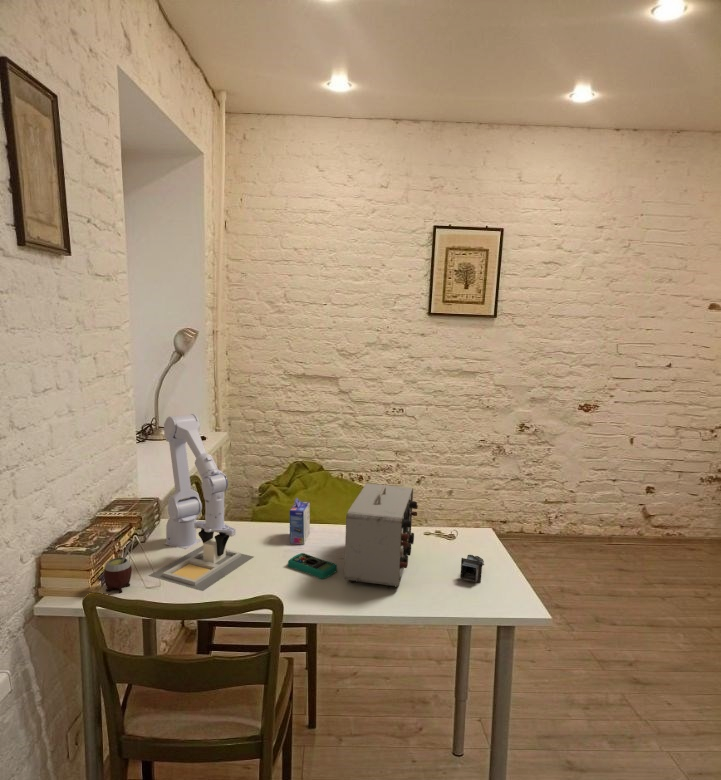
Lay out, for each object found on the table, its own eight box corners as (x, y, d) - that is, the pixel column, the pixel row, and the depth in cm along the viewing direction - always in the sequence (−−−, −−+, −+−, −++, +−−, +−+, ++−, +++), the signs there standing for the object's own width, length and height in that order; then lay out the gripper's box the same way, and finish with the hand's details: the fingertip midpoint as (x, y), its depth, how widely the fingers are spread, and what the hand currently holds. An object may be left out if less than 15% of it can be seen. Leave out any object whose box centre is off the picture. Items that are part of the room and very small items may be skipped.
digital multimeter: (301, 559, 174) (301, 550, 173) (338, 572, 165) (338, 563, 165) (286, 567, 167) (286, 558, 167) (323, 581, 159) (323, 572, 159)
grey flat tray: (148, 577, 157) (148, 572, 157) (204, 546, 180) (204, 541, 180) (202, 592, 149) (202, 587, 149) (254, 558, 172) (254, 553, 172)
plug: (203, 561, 167) (203, 543, 166) (216, 553, 173) (216, 535, 172) (213, 564, 166) (213, 545, 165) (226, 556, 172) (226, 538, 171)
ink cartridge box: (295, 532, 194) (295, 494, 192) (309, 534, 193) (310, 495, 192) (288, 543, 184) (289, 503, 182) (304, 545, 184) (305, 504, 182)
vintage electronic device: (405, 593, 153) (409, 509, 150) (343, 585, 156) (346, 503, 153) (416, 549, 184) (419, 478, 181) (364, 543, 187) (367, 474, 184)
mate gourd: (101, 586, 150) (100, 535, 149) (131, 579, 155) (130, 530, 153) (108, 597, 145) (106, 545, 143) (138, 589, 149) (137, 538, 148)
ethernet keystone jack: (486, 568, 171) (488, 549, 170) (479, 586, 159) (480, 566, 158) (466, 564, 173) (468, 545, 173) (457, 581, 161) (459, 561, 161)
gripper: (187, 512, 166) (187, 553, 168) (225, 520, 161) (225, 563, 162) (202, 505, 173) (202, 545, 175) (239, 513, 167) (239, 554, 169)
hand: (214, 553), depth 169 cm, fingers closed on plug, 4 cm apart
